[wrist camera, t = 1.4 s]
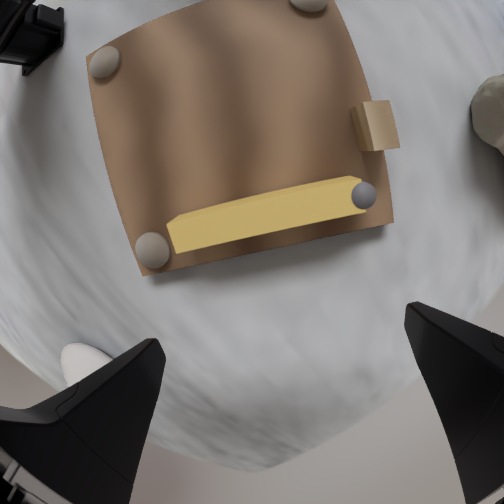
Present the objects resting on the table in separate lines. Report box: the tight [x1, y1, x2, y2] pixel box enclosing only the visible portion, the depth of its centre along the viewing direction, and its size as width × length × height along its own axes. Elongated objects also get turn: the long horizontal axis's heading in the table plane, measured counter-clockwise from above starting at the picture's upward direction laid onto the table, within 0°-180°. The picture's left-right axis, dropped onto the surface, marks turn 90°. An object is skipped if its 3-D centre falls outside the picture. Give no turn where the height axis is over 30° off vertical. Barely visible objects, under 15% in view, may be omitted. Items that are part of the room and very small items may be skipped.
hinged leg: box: [166, 176, 376, 254], centre depth 17 cm, size 13×2×3 cm, turn 104°
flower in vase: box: [61, 343, 113, 387], centre depth 17 cm, size 13×11×25 cm
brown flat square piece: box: [86, 0, 400, 276], centre depth 16 cm, size 20×20×4 cm
